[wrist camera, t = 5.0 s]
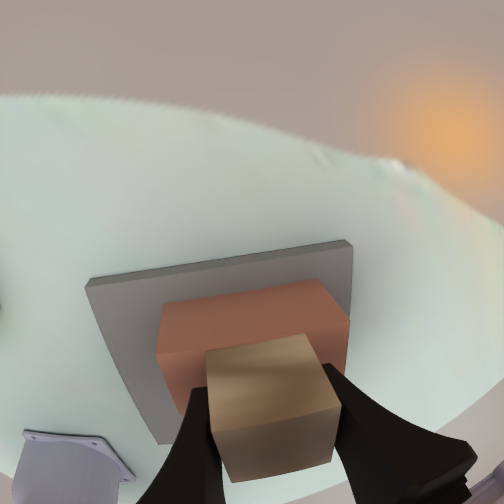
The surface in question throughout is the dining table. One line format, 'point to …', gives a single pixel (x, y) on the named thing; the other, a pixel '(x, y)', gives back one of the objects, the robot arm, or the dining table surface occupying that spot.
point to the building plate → (194, 287)
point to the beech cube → (271, 408)
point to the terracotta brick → (246, 329)
